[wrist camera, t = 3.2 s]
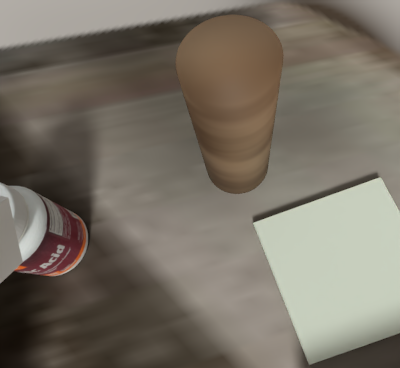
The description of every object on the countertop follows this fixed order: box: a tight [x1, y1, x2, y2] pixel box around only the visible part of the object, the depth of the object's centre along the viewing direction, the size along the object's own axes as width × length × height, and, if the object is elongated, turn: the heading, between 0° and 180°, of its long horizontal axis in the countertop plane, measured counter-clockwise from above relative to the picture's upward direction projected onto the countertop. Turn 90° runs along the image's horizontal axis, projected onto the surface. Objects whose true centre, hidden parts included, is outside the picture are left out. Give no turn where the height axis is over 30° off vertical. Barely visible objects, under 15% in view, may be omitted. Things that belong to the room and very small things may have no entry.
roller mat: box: [253, 177, 400, 365], centre depth 23 cm, size 9×9×1 cm
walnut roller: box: [176, 15, 283, 194], centre depth 20 cm, size 4×4×12 cm
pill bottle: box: [0, 182, 88, 276], centre depth 22 cm, size 5×5×8 cm
